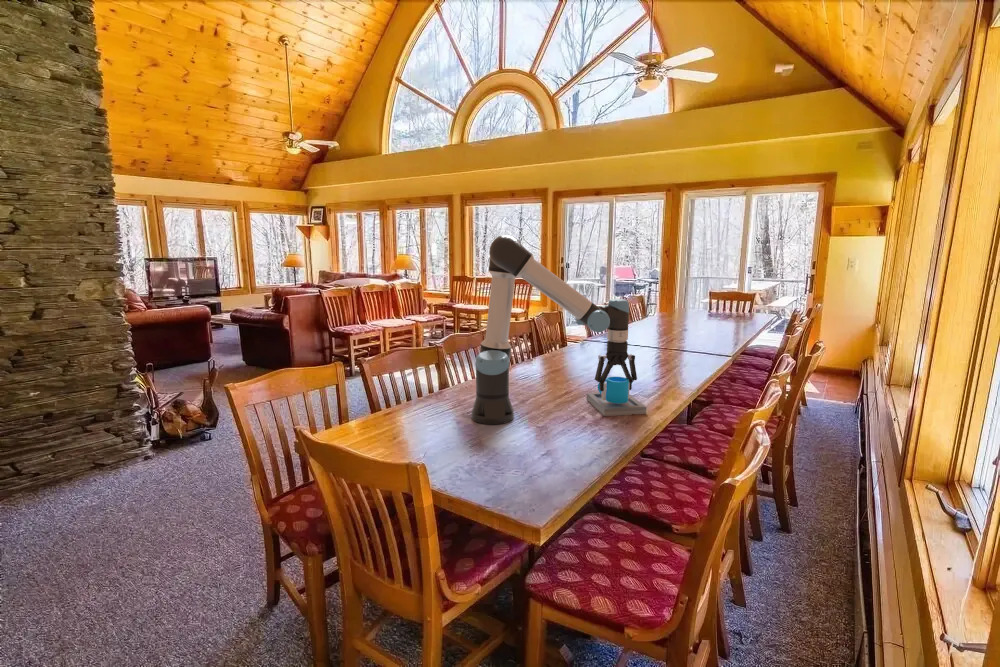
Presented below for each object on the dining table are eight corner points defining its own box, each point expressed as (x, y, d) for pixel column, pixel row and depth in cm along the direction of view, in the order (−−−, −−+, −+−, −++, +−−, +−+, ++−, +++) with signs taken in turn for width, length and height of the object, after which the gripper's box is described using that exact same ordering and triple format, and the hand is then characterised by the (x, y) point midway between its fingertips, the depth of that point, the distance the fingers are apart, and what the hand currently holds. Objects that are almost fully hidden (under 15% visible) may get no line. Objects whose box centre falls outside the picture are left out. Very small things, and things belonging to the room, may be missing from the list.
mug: (631, 399, 189) (632, 378, 188) (623, 404, 182) (624, 383, 181) (601, 394, 196) (602, 374, 194) (593, 399, 189) (593, 378, 188)
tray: (604, 416, 179) (604, 409, 178) (586, 399, 198) (586, 393, 198) (646, 413, 181) (646, 406, 181) (624, 397, 201) (624, 391, 200)
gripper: (593, 343, 180) (591, 403, 184) (648, 341, 183) (645, 400, 187) (586, 339, 187) (585, 397, 191) (640, 337, 190) (637, 394, 194)
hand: (615, 398), depth 189 cm, fingers closed on mug, 9 cm apart
